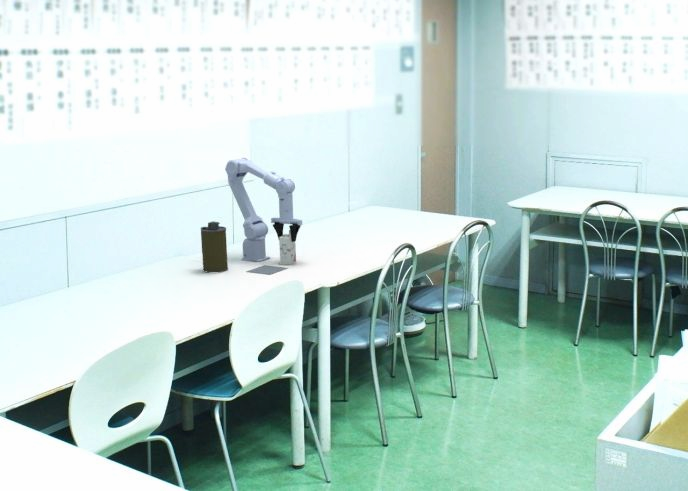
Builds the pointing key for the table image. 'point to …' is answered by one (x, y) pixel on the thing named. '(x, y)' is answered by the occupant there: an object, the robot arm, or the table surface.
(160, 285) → the table surface
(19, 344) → the table surface
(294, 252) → the ink cartridge box
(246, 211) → the robot arm
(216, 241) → the canister
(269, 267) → the mat
